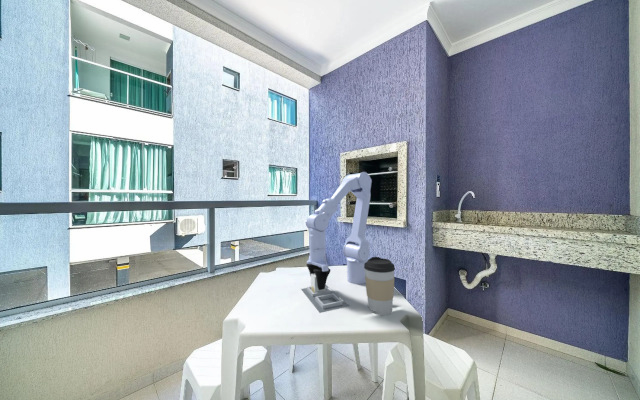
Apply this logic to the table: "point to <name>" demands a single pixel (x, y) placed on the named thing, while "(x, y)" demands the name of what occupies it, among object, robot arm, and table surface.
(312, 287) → the plug
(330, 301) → the panel
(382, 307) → the coffee cup
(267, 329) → the table surface
